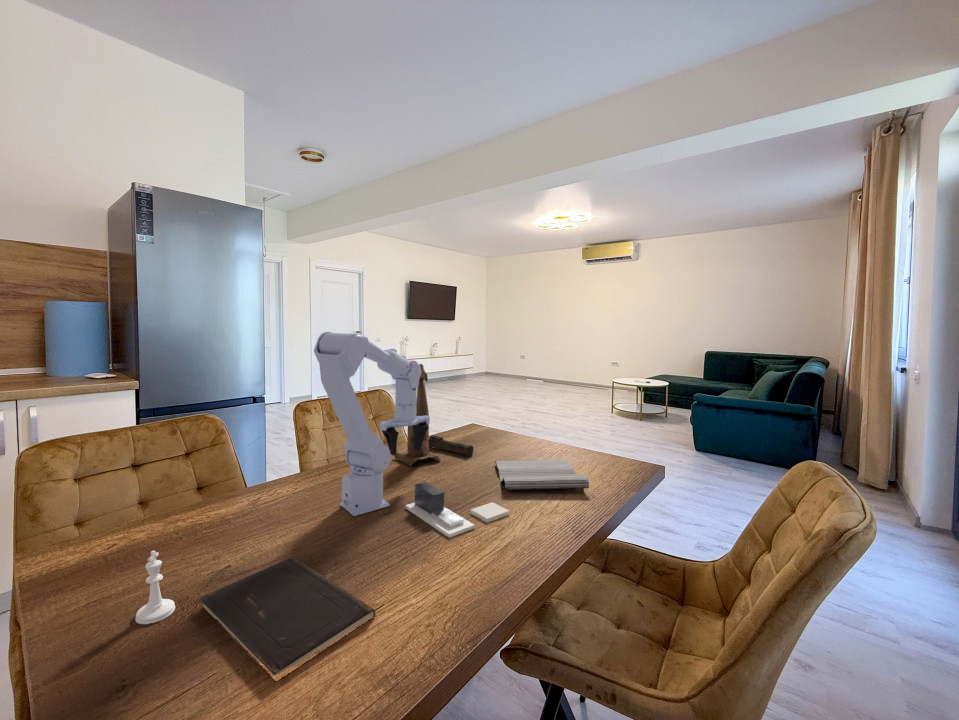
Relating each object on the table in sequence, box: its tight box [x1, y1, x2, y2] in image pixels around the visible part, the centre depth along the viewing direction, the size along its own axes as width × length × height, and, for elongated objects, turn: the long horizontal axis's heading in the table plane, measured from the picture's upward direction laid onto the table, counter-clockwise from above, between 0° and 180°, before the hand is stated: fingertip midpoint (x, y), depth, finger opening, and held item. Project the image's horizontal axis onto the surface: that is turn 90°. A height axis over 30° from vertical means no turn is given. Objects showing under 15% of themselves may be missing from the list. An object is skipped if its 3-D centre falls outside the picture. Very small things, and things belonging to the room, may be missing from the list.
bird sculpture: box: [393, 363, 442, 468], centre depth 139 cm, size 11×12×32 cm
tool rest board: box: [405, 501, 476, 539], centre depth 101 cm, size 7×18×1 cm, turn 40°
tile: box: [470, 502, 510, 524], centre depth 103 cm, size 7×2×6 cm
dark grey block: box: [414, 481, 465, 528], centre depth 101 cm, size 4×15×5 cm, turn 40°
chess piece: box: [134, 550, 176, 625], centre depth 66 cm, size 5×5×10 cm
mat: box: [495, 459, 590, 494], centre depth 127 cm, size 23×24×5 cm
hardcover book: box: [199, 556, 376, 675], centre depth 67 cm, size 16×23×2 cm
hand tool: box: [428, 434, 475, 458], centre depth 152 cm, size 19×4×5 cm, turn 54°
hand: (405, 451), depth 119 cm, fingers open, 7 cm apart
